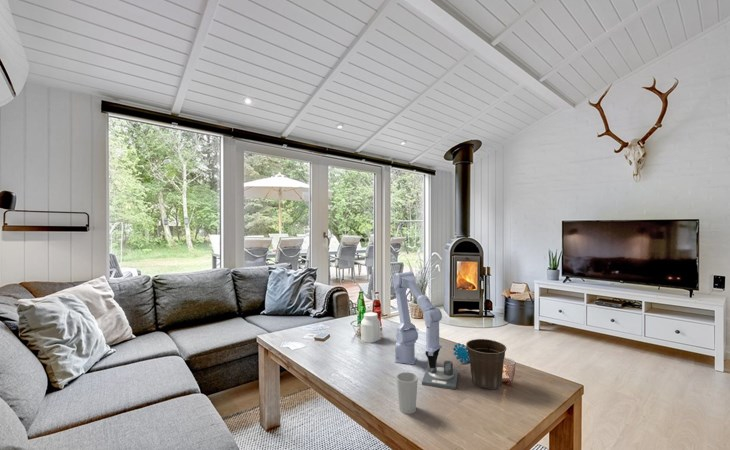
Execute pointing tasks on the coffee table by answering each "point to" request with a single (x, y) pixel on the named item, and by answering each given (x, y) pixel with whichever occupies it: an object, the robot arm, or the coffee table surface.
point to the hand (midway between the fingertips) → (433, 365)
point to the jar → (370, 328)
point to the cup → (407, 392)
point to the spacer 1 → (432, 368)
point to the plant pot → (486, 362)
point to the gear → (461, 352)
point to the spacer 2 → (448, 368)
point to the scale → (440, 379)
